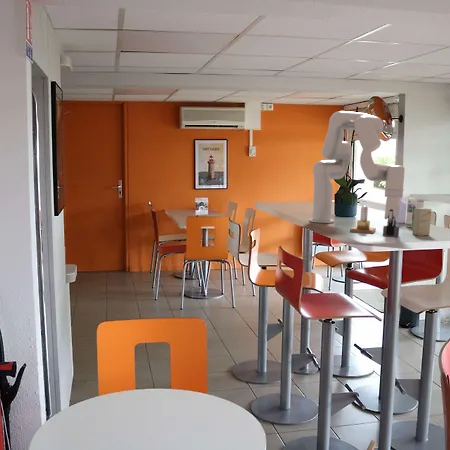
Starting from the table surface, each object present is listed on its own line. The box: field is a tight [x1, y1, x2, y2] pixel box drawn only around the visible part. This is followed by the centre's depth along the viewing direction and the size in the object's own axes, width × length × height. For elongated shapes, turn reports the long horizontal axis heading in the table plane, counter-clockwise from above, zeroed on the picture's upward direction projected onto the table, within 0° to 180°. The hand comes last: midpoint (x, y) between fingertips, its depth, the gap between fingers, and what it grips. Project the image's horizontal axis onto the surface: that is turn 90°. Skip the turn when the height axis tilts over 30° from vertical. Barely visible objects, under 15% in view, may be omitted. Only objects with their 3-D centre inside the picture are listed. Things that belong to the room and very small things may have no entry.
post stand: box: [349, 205, 376, 235], centre depth 256 cm, size 10×10×12 cm
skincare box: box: [411, 207, 432, 237], centre depth 251 cm, size 6×4×12 cm
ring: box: [382, 225, 400, 238], centre depth 246 cm, size 6×6×4 cm
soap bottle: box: [396, 188, 407, 224], centre depth 297 cm, size 9×9×25 cm
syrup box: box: [405, 197, 425, 229], centre depth 278 cm, size 6×6×14 cm
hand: (390, 233), depth 246 cm, fingers closed on ring, 6 cm apart
